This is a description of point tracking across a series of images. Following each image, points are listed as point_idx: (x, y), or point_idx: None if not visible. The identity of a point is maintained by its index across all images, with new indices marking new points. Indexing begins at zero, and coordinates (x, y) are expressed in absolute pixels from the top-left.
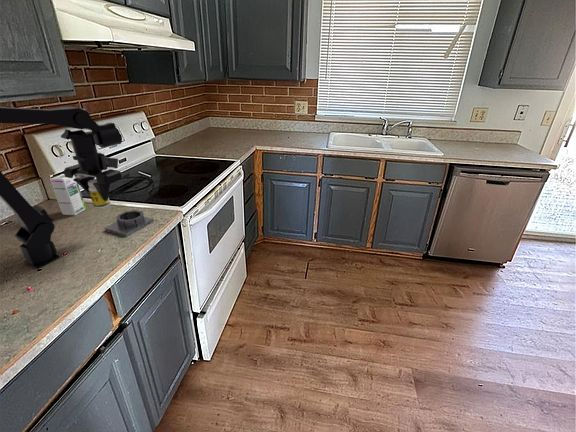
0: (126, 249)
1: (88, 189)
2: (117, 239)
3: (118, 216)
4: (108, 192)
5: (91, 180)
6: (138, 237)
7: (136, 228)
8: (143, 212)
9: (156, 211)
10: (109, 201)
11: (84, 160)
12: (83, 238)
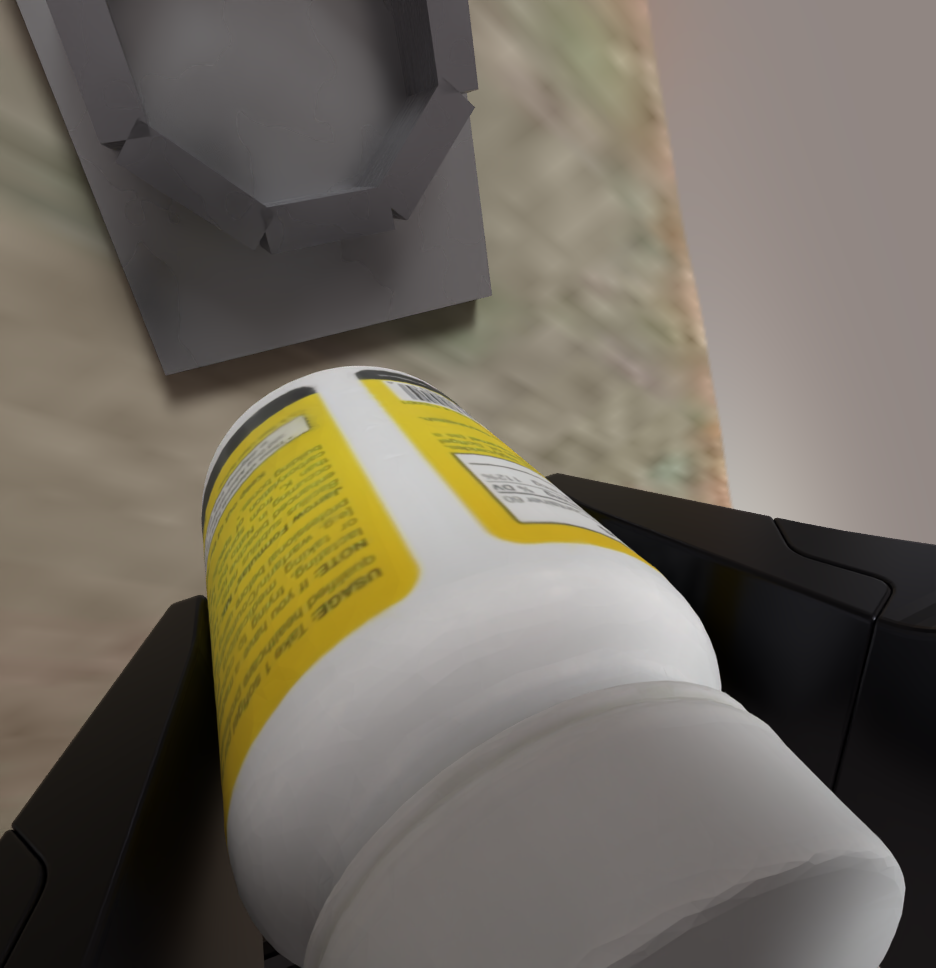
0: (636, 399)
1: (249, 930)
2: (451, 369)
3: (169, 168)
4: (717, 517)
5: None
6: (574, 228)
7: (470, 143)
8: None
9: None
10: (453, 403)
11: None
12: (175, 564)
